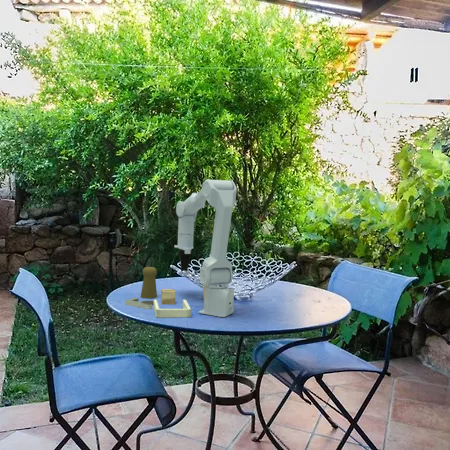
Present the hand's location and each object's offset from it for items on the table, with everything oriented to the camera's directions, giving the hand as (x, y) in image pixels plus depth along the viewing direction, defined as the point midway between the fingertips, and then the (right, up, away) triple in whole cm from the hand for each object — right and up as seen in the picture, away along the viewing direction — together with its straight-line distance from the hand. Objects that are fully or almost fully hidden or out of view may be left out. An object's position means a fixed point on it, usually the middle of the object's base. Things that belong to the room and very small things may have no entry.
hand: (184, 270), depth 186 cm
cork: (-13, -10, -2) cm, 16 cm away
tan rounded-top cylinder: (+9, -11, -2) cm, 14 cm away
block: (-5, -11, -10) cm, 15 cm away
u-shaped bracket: (-3, -12, -21) cm, 24 cm away
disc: (-12, -11, -12) cm, 20 cm away
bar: (-13, -11, -15) cm, 23 cm away
